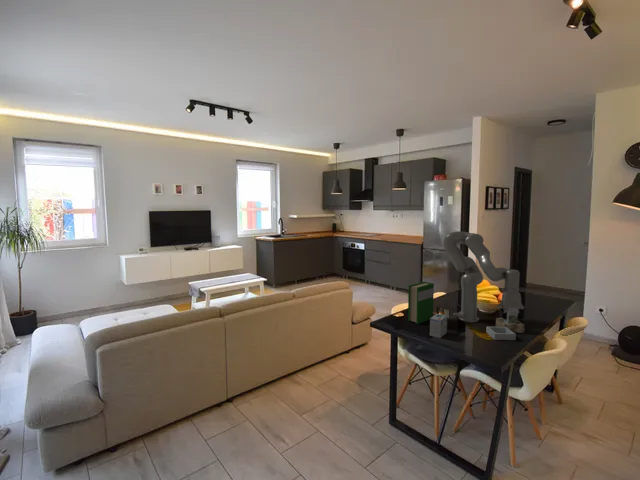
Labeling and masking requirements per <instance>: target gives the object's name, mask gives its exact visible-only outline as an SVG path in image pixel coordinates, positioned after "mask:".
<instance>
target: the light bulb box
mask: <svg viewBox="0 0 640 480" xmlns="http://www.w3.org/2000/svg"><path fill="white" fill-rule="evenodd" d="M447 331H448V315H447V314H440V313H435V314H433V317H431V318H430V320H429V336H431V337H435V338H437V339H441V338H442V337H444V336H445V335H446V334H447Z"/></svg>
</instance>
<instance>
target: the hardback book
mask: <svg viewBox="0 0 640 480" xmlns="http://www.w3.org/2000/svg"><path fill="white" fill-rule="evenodd" d="M434 287H435V284H434V283H433V282H427V281H422V282H418V283H414V284H410V285H408V295H407V297H408V299H407V300H408V301H407V305H408V306H407V307H408V308H407V322H408V321H410V322H414V323H416V325H419V324H422V323H425V322H427V321H430V318H431V317H433V316H434V292H435V291H434Z"/></svg>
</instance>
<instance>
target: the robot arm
mask: <svg viewBox="0 0 640 480" xmlns="http://www.w3.org/2000/svg"><path fill="white" fill-rule="evenodd" d="M461 244H462V245H465V246H466V247H467V248H468V249H469V250H470V251H471V253H472V254H473V255H474V256H475V258H476V259H477V262H478V264H479V266H480V268H481V270H480V268H479V266H478V265H477V263H476V261H475V260H474V258H472V257H470V256H465V255H464V253H463V252H462V250H461V248H459V247H458V245H461ZM443 247H444V250H445V252H446V253H447V255H448V256H449V258H450V261H451V262H452V264H453V266H454V268H455V269H456V271H457V272H460V273H463V272H464V274H463V275H462V276H461V279H460V286H461V305H460V306H461V308H460V311H459V312H453V316H456V317H458V319H459V320H461V321H462V322H468V323H478V322H479V321H480V318H479V317H478V316H477V311H478V309H477V308H478V289H477V285H480V284H482V282H484V281H483V280H484V275H483V273H484V274H485V275H486V277H487V278H488V279H489V280H491V281H492V282H500V281H502V280H504V286H503V287H502V289H501V290H502V291H503V292H502V295H501V301H500V303H498V305H496V307H497V309H499V310H500V311H501V312H502V313H501V318H503V319H505V320H506V310H507V309H509V308H515V309H518V316H519V315H520V313H521V312H522V310H524V309H525V306H524V305H523V303H522V295H521V293H520V277H521V276H520V275H521V272H520V271H519V270H518V269H510V268H509V269H508V268H505V267H497V266H495V265H494V264H493V262H492V260H491V252H490V250H489V249H488V248H487V247H486V246H485V244H484V238H483V236H482V235H481V234H479V233H474V232H467V231H452V232H450V233H448V234H447V235H445V236H444V239H443ZM481 271H483V273H482V272H481ZM518 318H519V317H518ZM518 318H517V320H518V321H519V319H518Z"/></svg>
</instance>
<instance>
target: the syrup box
mask: <svg viewBox="0 0 640 480" xmlns="http://www.w3.org/2000/svg"><path fill="white" fill-rule="evenodd" d="M517 318H519V315H518V309H515V308H509V309H507V310H506V320H505V319H503V322H504V323H506V324H517Z"/></svg>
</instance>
